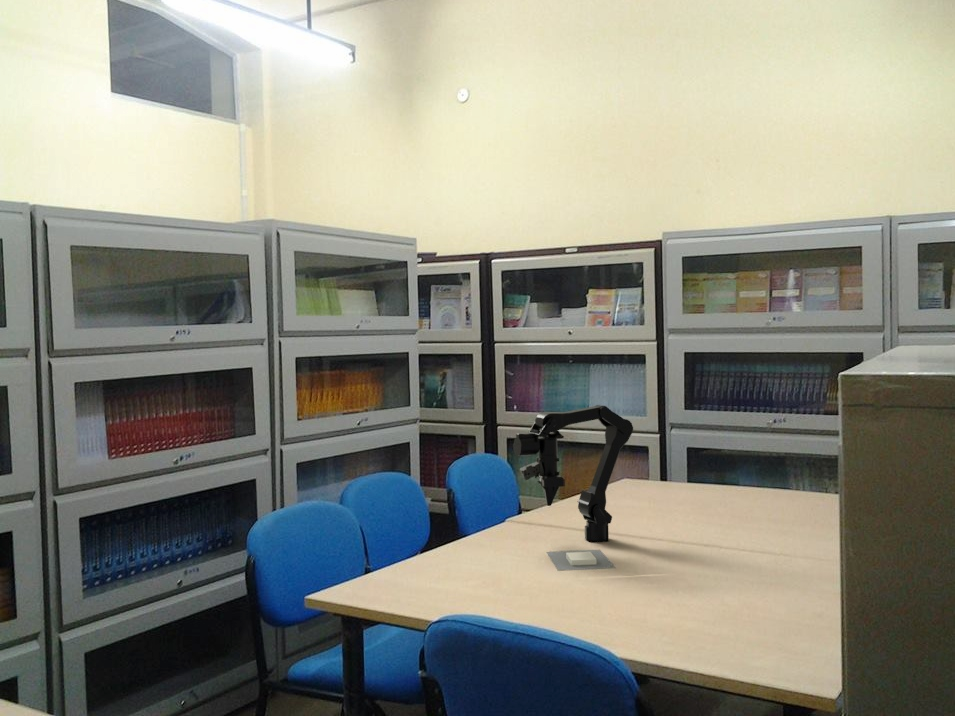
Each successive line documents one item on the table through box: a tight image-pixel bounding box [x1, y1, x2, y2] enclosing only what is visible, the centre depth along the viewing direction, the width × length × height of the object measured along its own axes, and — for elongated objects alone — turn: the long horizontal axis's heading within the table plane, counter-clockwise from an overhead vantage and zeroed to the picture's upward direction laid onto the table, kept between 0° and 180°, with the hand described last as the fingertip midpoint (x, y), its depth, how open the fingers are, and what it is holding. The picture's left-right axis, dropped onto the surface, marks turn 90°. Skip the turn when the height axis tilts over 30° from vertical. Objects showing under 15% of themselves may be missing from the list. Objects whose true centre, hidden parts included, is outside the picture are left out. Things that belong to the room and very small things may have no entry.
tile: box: [566, 552, 597, 566], centre depth 242 cm, size 7×2×8 cm
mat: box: [545, 549, 617, 572], centre depth 244 cm, size 16×20×1 cm
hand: (549, 505), depth 260 cm, fingers closed
